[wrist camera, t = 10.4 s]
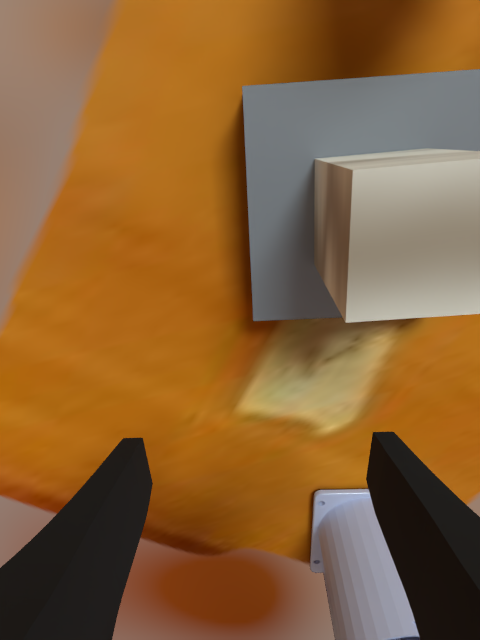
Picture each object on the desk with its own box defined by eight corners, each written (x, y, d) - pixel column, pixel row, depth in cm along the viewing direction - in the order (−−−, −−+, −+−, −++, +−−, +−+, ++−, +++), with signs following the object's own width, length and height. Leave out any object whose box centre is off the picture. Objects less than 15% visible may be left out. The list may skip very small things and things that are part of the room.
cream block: (413, 256, 17) (492, 312, 11) (314, 264, 17) (345, 322, 12) (427, 148, 15) (531, 154, 9) (314, 158, 15) (352, 169, 10)
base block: (430, 290, 21) (457, 312, 18) (252, 298, 21) (253, 321, 18) (468, 79, 16) (512, 66, 14) (243, 95, 17) (242, 86, 14)
